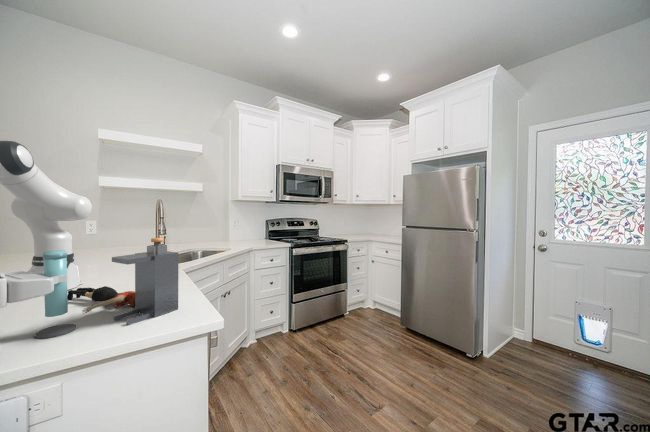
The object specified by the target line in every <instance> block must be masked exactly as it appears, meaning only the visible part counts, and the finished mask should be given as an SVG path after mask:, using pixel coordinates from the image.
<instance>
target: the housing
mask: <svg viewBox="0 0 650 432" xmlns="http://www.w3.org/2000/svg"><path fill="white" fill-rule="evenodd" d="M111 262H112V263H115V264H116V263H117V264H123V265H134V291H135V306H134V307H135V308H134V309H131V310H129V311H126V312H122V313H118V314H115V315H113V316H112V317H113V318H112V319H113V320H112V321H113V322H117V321H119V320H123V319H126V318H128V317H132V316H133V317H132V318H128V319H126V326H131V325H133V324H135V323H138V322H139V323H140V322H142V321H144V320H147V319H148V320H149V319H150V318H155V319H156V318H158V317H160V316H163V315H165V314H169V313H171V312H174V311H177V310H179V252H177V251H168V245H167V244H161V243H160V246H154V244H151V245H146V251H143V252H137V253H136V252H135V253H133V254H126V255H120V256H119V255H118V256H112V257H111ZM140 314H141V315H140ZM134 315H138V316H135V317H134Z"/></svg>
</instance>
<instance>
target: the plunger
mask: <svg viewBox="0 0 650 432" xmlns="http://www.w3.org/2000/svg"><path fill="white" fill-rule="evenodd" d="M150 242H151V243H153V245H154V246H160V244H161V242H164V238H163V237H153V238H151V239H150Z"/></svg>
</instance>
